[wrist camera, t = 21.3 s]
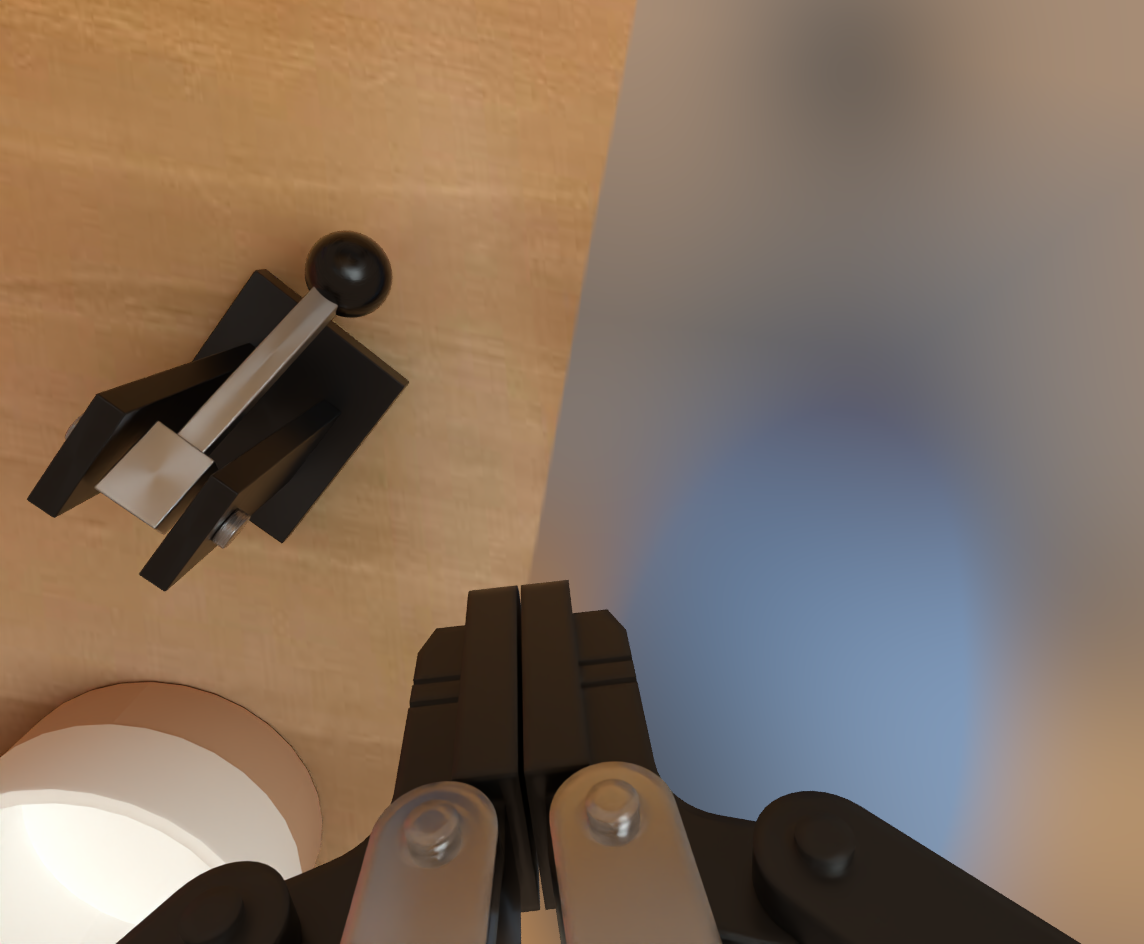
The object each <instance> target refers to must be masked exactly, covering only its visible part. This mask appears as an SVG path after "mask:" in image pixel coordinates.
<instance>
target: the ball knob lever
mask: <svg viewBox="0 0 1144 944" xmlns="http://www.w3.org/2000/svg"><path fill="white" fill-rule="evenodd" d="M302 299H303V298H302V297H301V296H299V295H298V294H297V293H295V292H294V291H293V290H292V289H290V288H289V287H288V286H287V285H285V284H284V283H283V282H281V281H280V280H279V279H278V278H276V277H275V276H274V275H272V274H271V273H270V272H269V271H267V270H266V269H263V270H256V271H255V272H254V273H253V274H252V276H251V277H250V279H249V280H248V282H247V283H246V285H245V286H244V287H243V289H242V290H241V292H240V293H239V295H238V296H237V298H236V299H235V300H234V302H233V303H232V305H231V306H230V308H229V309H228V311H227V312H226V313H225V315H224V316H223V318H222V319H221V321H220V322H219V324H218V325H217V326H216V328H215V329H214V331H213V332H212V334H211V335H210V336H209V338H208V339H207V341H206V342H205V344H204V345H203V347H202V348H201V349H200V351H199V352H198V354H197V355H196V357H195V358H194V360H193V361H192V362H190V363H187V364H184V365H181V366H178V367H175V368H172V369H170V370H167V371H164V372H161V373H158V374H155V375H152V376H149V377H146V378H143V379H140V380H137V381H134V382H131V383H128V384H125V385H122V386H119V387H116V388H113V389H110V390H107V391H104V392H101V393H98V394H96V396H95V397H94V399H93V400H92V402H91V403H90V405H89V406H88V408H87V409H86V411H85V412H84V413H83V414H82V415H81V416H79V417H78V418H77V419H76V420H75V421H74V422H73V424H72V425H71V426H70V428H69V429H68V431H67V433H66V435H65V440H66V441H65V442H64V444H63V445H62V447H61V448H60V450H59V451H58V453H57V454H56V456H55V457H54V459H53V460H52V462H51V463H50V465H49V466H48V468H47V469H46V471H45V472H44V474H43V475H42V477H41V478H40V480H39V481H38V483H37V484H36V486H35V487H34V489H33V490H32V492H31V493H30V495H29V496H28V498H27V500H28V501H29V502H31V503H32V504H34V505H35V506H37V507H38V508H40V509H41V510H43V511H44V512H46V513H47V514H49V515H50V516H52V517H54V518H55V517H57V516H59V515H61V514H63V513H64V512H66V511H68V510H70V509H72V508H73V507H75V506H77V505H79V504H81V503H82V502H84V501H86V500H88V499H90V498H92V497H93V496H95V495H97V494H99V493H101V492H99V491H98V490H96V489H95V488H94V487H95V485H96V484H97V483H98V482H99V481H100V480H101V479H102V478H103V477H104V476H105V475H106V474H107V473H108V472H109V470H110V469H111V468H112V467H113V466H114V465H115V464H116V463H117V462H118V461H119V460H120V459H121V458H122V457H123V456H124V455H125V454H126V453H127V452H128V451H129V449H130V448H131V447H132V446H133V445H134V444H135V443H136V442H137V441H138V440H139V439H140V438H141V437H142V436H143V435H144V434H145V433H146V432H147V431H148V430H149V429H150V427H151V426H152V425H153V424H154V423H155V422H156V421H160V422H161V423H163V424H164V425H165V426H167V427H168V428H170V429H171V430H172V431H174V432H175V433H177V432H178V431H179V430H180V429H181V428H182V427H183V426H184V425H185V424H186V423H187V422H188V421H189V419H190V418H191V417H192V416H193V415H194V414H195V413H196V412H197V411H198V410H199V409H200V408H201V407H202V406H203V404H204V403H205V402H206V401H207V400H208V399H209V398H210V397H211V396H212V395H213V394H214V393H215V392H216V391H217V390H218V388H219V387H220V386H221V385H222V384H223V383H224V382H225V381H226V380H227V379H228V378H229V377H230V376H231V375H232V373H233V372H234V371H235V370H236V369H237V368H238V367H239V366H240V365H241V364H242V363H243V362H244V361H245V360H246V358H247V357H248V356H249V355H250V354H251V353H252V352H253V351H254V350H255V349H256V348H257V347H258V346H259V345H260V343H261V342H262V341H263V340H264V339H265V338H266V337H267V336H268V335H269V334H270V333H271V332H272V331H273V330H274V329H275V327H276V326H277V325H278V324H279V323H280V322H281V321H282V320H283V319H284V318H285V317H286V316H287V315H288V314H289V312H290V311H291V310H292V309H293V308H294V307H295V306H296V305H297V304H298V303H299V302H300V301H301V300H302ZM408 384H409V381H408V380H406V379H405V378H404V377H403V376H401V375H400V374H399V373H398V372H396V371H395V370H394V369H392V368H391V367H390V366H389V365H387V364H386V363H385V362H384V361H382V360H381V359H380V358H378V357H377V356H376V355H375V354H373V353H372V352H371V351H369V350H368V349H367V348H366V347H364V346H363V345H362V344H361V343H359V342H358V341H357V340H355V339H354V338H353V337H352V336H350V335H349V334H348V333H346V332H345V331H344V330H343V329H341V328H340V327H339V326H338V325H336V324H335V323H334V322H332V321H330V322H329V323H328V324H327V325H326V326H325V328H324V329H323V330H322V331H321V332H320V333H319V334H318V335H317V336H316V338H315V339H314V340H313V341H312V342H311V343H310V344H309V345H308V346H307V347H306V349H305V350H304V351H303V352H302V353H301V354H300V355H299V356H298V357H297V359H296V360H295V361H294V362H293V363H292V364H291V365H290V366H289V367H288V369H287V370H286V371H285V372H284V373H283V374H282V375H281V376H280V377H279V378H278V380H277V381H276V382H275V383H274V384H273V385H272V386H271V387H270V388H269V390H268V391H267V392H266V393H265V394H264V395H263V396H262V397H261V398H260V400H259V401H258V402H257V403H256V404H255V405H254V406H253V407H252V408H251V409H250V411H249V412H248V413H247V414H246V415H245V416H244V417H243V418H242V419H241V421H240V422H239V423H238V424H237V425H236V426H235V427H234V428H233V429H232V431H231V432H230V433H229V434H228V435H227V436H226V437H225V438H224V439H223V441H222V442H221V443H220V444H219V445H218V446H217V447H216V448H215V449H214V450H213V452H212V453H211V454H210V455H209V457H210V458H212V459H213V460H214V461H215V463H216V465H217V468H218V471H217V472H215V473H214V474H212V475H211V476H210V477H209V479H208V480H207V481H206V483H205V484H204V485H203V487H202V488H201V490H200V491H199V492H198V494H197V495H196V496H195V498H194V499H193V501H192V502H191V503H190V505H189V506H188V507H187V509H186V510H185V511H184V513H183V514H182V516H181V517H180V518H179V520H178V521H177V522H176V524H175V525H174V526H173V528H172V529H171V531H170V532H169V533H168V535H167V536H166V537H165V539H164V540H163V542H162V543H161V544H160V546H159V547H158V548H157V550H156V551H155V552H154V554H153V555H152V557H151V558H150V559H149V561H148V562H147V563H146V565H145V566H144V568H143V569H142V570H141V572H140V573H139V575H140V576H142V577H143V578H145V579H146V580H148V581H149V582H151V583H152V584H154V585H155V586H157V587H158V588H160V589H161V590H163V591H167V590H168V589H169V588H170V587H171V586H172V585H174V584H175V583H176V582H177V581H178V580H179V579H180V578H181V577H183V576H184V575H185V574H186V573H187V572H188V571H189V570H190V569H192V568H193V567H194V566H195V565H196V564H197V563H198V562H199V561H201V560H202V559H203V558H204V557H205V556H206V555H207V554H208V553H210V552H211V551H212V550H213V549H214V548H215V547H216V546H217V545H218V546H219V547H221V548H222V549H224V548H226V547H227V546H228V545H229V544H230V543H231V542H232V541H233V540H234V539H235V538H236V536H237V535H238V534H239V533H240V532H241V530H242V529H243V528H244V527H245V525H246V524H247V523H248V521H251V522H252V523H254V524H255V525H257V526H258V527H259V528H261V529H262V530H264V531H265V532H266V533H268V534H269V535H271V536H272V537H274V538H275V539H276V540H278V541H279V542H281V543H283V542H284V541H285V540H286V539H287V538H288V537H289V536H290V535H291V534H292V532H293V531H294V530H295V528H296V527H297V526H298V525H299V523H300V522H301V521H302V519H303V518H304V517H305V516H306V514H307V513H308V512H309V510H310V509H311V508H312V507H313V505H314V504H315V503H316V502H317V500H318V499H319V498H320V496H321V495H322V494H323V493H324V491H325V490H326V489H327V487H328V486H329V485H330V484H331V482H332V481H333V480H334V478H335V477H336V476H337V475H338V473H339V472H340V471H341V470H342V468H343V467H344V466H345V464H346V463H347V462H348V461H349V459H350V458H351V457H352V455H353V454H354V453H355V452H356V450H357V449H358V448H359V446H360V445H361V444H362V443H363V441H364V440H365V439H366V438H367V436H368V435H369V434H370V432H371V431H372V430H373V429H374V427H375V426H376V425H377V423H378V422H379V421H380V420H381V418H382V417H383V416H384V414H385V413H386V412H387V411H388V409H389V408H390V407H391V406H392V404H393V403H394V402H395V400H396V399H397V398H398V397H399V395H400V394H401V393H402V391H403V390H404V389H405V388H406V386H407V385H408Z"/></svg>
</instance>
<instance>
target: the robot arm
mask: <svg viewBox="0 0 1144 944" xmlns="http://www.w3.org/2000/svg"><path fill="white" fill-rule="evenodd" d="M413 681H414V685H412V691H411V697H410V708H408V714H407V720H406V726H405V732H404V737H403V743H402V749H401V755H400V761H399V766H398V772H397V778H396V784H395V790H394V795H393V799H392V802H391V805H390V806H389V807H388V808H387V809H386V810H385V811H384V812H383V813H382V815H381V816H380V817H379V819H378V820H377V822H376V824H375V826H374V827H373V830H372V833H371V834H370V835H369V836H368V837H367V838H366V839H365V840H364V841H363V842H362V843H360V844H359V845H358V846H356V847H355V848H354V849H352V850H351V851H349V852H348V853H346V854H344V855H343V856H341V857H339V858H337V859H334V860H332V861H330V862H328V863H326V864H323V865H321V866H318V867H316V868H313V869H311V870H309V871H306V872H304V873H301V874H299V875H296V876H294V877H292V878H289V879H287V880H284V879H283V877H282V876H281V874H280V873H279V872H278V871H276V870H275V869H274V868H272V867H271V866H269V865H267V864H264V863H260V862H255V861H238V862H232V863H228V864H224V865H221V866H218V867H215V868H212V869H210V870H208V871H206V872H204V873H202V874H200V875H198V876H197V877H195V878H194V879H192V880H190V881H189V882H187V883H186V884H185V885H184V886H182V887H181V888H180V889H178V890H177V891H176V892H175V893H174V894H172V895H171V896H170V897H169V898H168V899H167V900H166V901H164V902H163V903H162V904H161V905H160V906H159V907H157V908H156V909H155V910H154V911H153V912H152V913H150V914H149V915H148V916H147V917H146V918H145V919H144V920H142V921H141V922H140V923H139V924H138V925H137V926H135V927H134V928H133V929H132V930H131V931H130V932H128V933H127V934H126V935H125V936H124V937H123V938H122V939H120V940H119V941H118V942H117V943H116V944H521V912H529V911H537V910H540V895H539V894H540V893H539V871H540V877H541V884H542V890H543V896H544V902H545V908H546V910H548V909H556V913H557V919H558V926H559V932H560V940H561V944H1081V943H1079V942H1077V941H1076V940H1074V939H1073V938H1071V937H1069V936H1068V935H1066V934H1065V933H1063V932H1061V931H1060V930H1058V929H1057V928H1055V927H1053V926H1052V925H1050V924H1049V923H1047V922H1045V921H1044V920H1042V919H1040V918H1039V917H1037V916H1036V915H1034V914H1033V913H1031V912H1029V911H1028V910H1026V909H1025V908H1023V907H1021V906H1020V905H1018V904H1016V903H1015V902H1013V901H1012V900H1010V899H1009V898H1007V897H1005V896H1004V895H1002V894H1000V893H999V892H997V891H996V890H994V889H992V888H991V887H989V886H987V885H986V884H984V883H983V882H981V881H980V880H978V879H976V878H975V877H973V876H972V875H970V874H968V873H967V872H965V871H964V870H962V869H960V868H959V867H957V866H955V865H954V864H952V863H951V862H949V861H947V860H946V859H944V858H943V857H941V856H939V855H938V854H936V853H935V852H933V851H931V850H930V849H928V848H927V847H925V846H923V845H922V844H920V843H919V842H917V841H915V840H913V839H912V838H911V837H909V836H907V835H906V834H904V833H903V832H901V831H899V830H898V829H896V828H895V827H893V826H891V825H890V824H888V823H886V822H885V821H883V820H882V819H880V818H878V817H877V816H875V815H874V814H872V813H870V812H869V811H867V810H866V809H864V808H862V807H861V806H859V805H857V804H855V803H853V802H852V801H850V800H848V799H845V798H843V797H840V796H837V795H834V794H829V793H826V792H817V791H801V792H795V793H791V794H788V795H785V796H782V797H780V798H778V799H776V800H774V801H773V802H771V803H770V804H769V805H768V806H767V807H765V809H764V810H763V811H762V812H761V814H760V815H759V817H758V819H757V821H756V822H755V821H749V820H744V819H738V818H733V817H727V816H721V815H716V814H712V813H708V812H705V811H703V810H700V809H697V808H695V807H693V806H691V805H689V804H687V803H686V802H684V801H683V800H681V799H680V798H678V797H677V796H676V795H675V794H674V793H673V792H672V791H671V790H670V789H669V787H668V786H667V784H666V783H665V782H664V781H663V780H662V779H661V777H660V775H659V773H658V772H657V768H656V765H655V762H654V758H653V753H652V748H651V743H650V739H649V734H648V730H647V725H646V720H645V716H644V711H643V706H642V702H641V697H640V692H639V688H638V683H637V681H636V674H635V669H634V665H633V661H632V655H631V651H630V646H629V642H628V637H627V632H626V629H625V628H624V627H623V626H622V625H621V624H620V623H619V622H618V621H617V620H616V618H615V617H614V616H613V615H612V614H611V613H610V612H609V611H608V610H598V611H590V612H581V613H572V606H571V597H570V589H569V581H568V580H563V581H554V582H546V583H537V584H528V585H521V603H520V596H519V590H518V586H508V587H499V588H490V589H481V590H472V591H469V593H468V601H467V612H466V623H465V625H464V626H455V627H446V628H437V629H436V630H435V631H434V632H433V634H432V635H431V636H430V638H429V639H428V640H427V642H426V643H425V644H424V646H423V647H422V649H421V650H420V651H419V653H418V656H417V662H416V668H415V674H414V679H413Z"/></svg>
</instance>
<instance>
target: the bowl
mask: <svg viewBox="0 0 1144 944" xmlns="http://www.w3.org/2000/svg"><path fill="white" fill-rule="evenodd" d="M321 838H322V814H321V809H320V804H319V798H318V794H317V791H316V789H315V787H314V784H313V782H312V780H311V777H310V775H309V772H308V770H307V769H306V767H305V766H304V764H303V763H302V761H301V760H300V759H299V757H298V756H297V754H296V753H295V751H294V750H293V748H292V747H291V746H290V745H289V744H288V743H287V742H286V741H285V740H284V739H283V738H282V737H281V736H280V735H279V734H278V733H277V732H276V731H275V730H274V729H273V728H272V727H271V726H269V725H268V724H267V723H265V722H264V721H262V720H261V719H259V718H258V717H256V716H255V715H253V714H252V713H251V712H249V711H248V710H246V709H245V708H243V707H241V706H239V705H236V704H234V703H232V702H230V701H228V700H226V699H224V698H222V697H219V696H217V695H215V694H212V693H208V692H205V691H201V690H198V689H194V688H191V687H187V686H183V685H174V684H166V683H157V682H141V683H122V684H117V685H113V686H108V687H104V688H100V689H96V690H92V691H89V692H87V693H84V694H82V695H80V696H78V697H76V698H74V699H71V700H69V701H67V702H65V703H63V704H61V705H60V706H59V707H57V708H56V709H55V710H53V711H52V712H51V713H49V714H48V715H47V716H46V717H44V718H43V719H42V720H40V721H39V722H38V723H37V724H36V725H35V726H34V727H33V728H32V729H31V730H29V731H28V732H27V733H26V734H25V735H24V736H23V737H22V738H21V739H20V740H19V741H18V742H16V743H15V744H14V745H13V746H12V747H11V748H10V749H9V750H8V751H7V752H6V753H5V754H3V755H2V756H1V757H0V944H116V943H117V942H118V941H119V940H120V939H122V938H123V937H124V936H125V935H126V934H127V933H128V932H130V931H131V930H132V929H133V928H134V927H135V926H137V925H138V924H139V923H140V922H141V921H142V920H144V919H145V918H146V917H147V916H148V915H149V914H150V913H152V912H153V911H154V910H155V909H156V908H157V907H159V906H160V905H161V904H162V903H163V902H164V901H166V900H167V899H168V898H169V897H170V896H171V895H172V894H174V893H175V892H176V891H177V890H178V889H180V888H181V887H182V886H184V885H185V884H186V883H187V882H189V881H190V880H192V879H194V878H195V877H197V876H198V875H200V874H202V873H204V872H206V871H208V870H210V869H212V868H215V867H218V866H221V865H224V864H228V863H232V862H238V861H255V862H260V863H264V864H267V865H269V866H271V867H272V868H274V869H275V870H276V871H278V872H279V873H280V874H281V876H282V877H283V879H284V880H287V879H289V878H292V877H294V876H296V875H299V874H301V873H304V872H306V871H309V870H311V869H313V868H314V866H315V863H316V860H317V857H318V854H319V850H320V847H321Z"/></svg>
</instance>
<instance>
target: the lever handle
mask: <svg viewBox="0 0 1144 944" xmlns="http://www.w3.org/2000/svg"><path fill="white" fill-rule="evenodd" d="M305 280H306V284H307V287H308V289H309V292H308V293H307V294H306V295H305V296H304V297H303V299H302V300H301V301H300V302H299V303H298V304H297V305H296V306H295V307H294V308H293V309H292V310H291V311H290V312H289V314H288V315H287V316H286V317H285V318H284V319H283V320H282V321H281V322H280V323H279V324H278V325H277V326H276V327H275V329H274V330H273V331H272V332H271V333H270V334H269V335H268V336H267V337H266V338H265V339H264V340H263V341H262V342H261V343H260V345H259V346H258V347H257V348H256V349H255V350H254V351H253V352H252V353H251V354H250V355H249V356H248V357H247V358H246V360H245V361H244V362H243V363H242V364H241V365H240V366H239V367H238V368H237V369H236V370H235V371H234V372H233V373H232V375H231V376H230V377H229V378H228V379H227V380H226V381H225V382H224V383H223V384H222V385H221V386H220V387H219V388H218V390H217V391H216V392H215V393H214V394H213V395H212V396H211V397H210V398H209V399H208V400H207V401H206V402H205V403H204V404H203V406H202V407H201V408H200V409H199V410H198V411H197V412H196V413H195V414H194V415H193V416H192V417H191V418H190V419H189V421H188V422H187V423H186V424H185V425H184V426H183V427H182V428H181V429H180V430H179V431H178V432H177V433H175V432H174V431H172V430H171V429H170V428H168V427H167V426H165V425H164V424H163V423H161V422H160V421H156V422H155V423H154V424H153V425H152V426H151V427H150V429H149V430H148V431H147V432H146V433H145V434H144V435H143V436H142V437H141V438H140V439H139V440H138V441H137V442H136V443H135V444H134V445H133V446H132V447H131V448H130V449H129V451H128V452H127V453H126V454H125V455H124V456H123V457H122V458H121V459H120V460H119V461H118V462H117V463H116V464H115V465H114V466H113V467H112V468H111V469H110V470H109V472H108V473H107V474H106V475H105V476H104V477H103V478H102V479H101V480H100V481H99V482H98V483H97V484H96V485H95V487H94V488H95V489H96V490H98V491H99V492H101V493H102V494H104V495H105V496H107V497H108V498H110V499H111V500H112V501H114V502H115V503H117V504H118V505H120V506H121V507H123V508H124V509H126V510H127V511H129V512H130V513H132V514H133V515H134V516H136V517H137V518H139V519H140V520H142V521H143V522H145V523H146V524H148V525H149V526H151V527H152V528H154V529H155V530H157V531H158V532H160V533H161V534H163V535H165V534H166V533H167V532H168V531H169V530H170V528H171V527H172V526H173V525H174V524H175V523H176V522H177V521H178V519H179V518H180V517H181V516H182V514H183V513H184V511H185V510H186V509H187V507H188V506H189V505H190V503H191V502H192V501H193V499H194V498H195V496H196V495H197V494H198V492H199V491H200V490H201V488H202V487H203V485H204V484H205V483H206V481H207V480H208V479H209V477H210V476H211V475H212V474H214V473H215V472H217V471H218V468H217V465H216V463H215V461H214V460H213V459H212V458H210V457H209V455H210V454H211V453H212V452H213V450H214V449H215V448H216V447H217V446H218V445H219V444H220V443H221V442H222V441H223V439H224V438H225V437H226V436H227V435H228V434H229V433H230V432H231V431H232V429H233V428H234V427H235V426H236V425H237V424H238V423H239V422H240V421H241V419H242V418H243V417H244V416H245V415H246V414H247V413H248V412H249V411H250V409H251V408H252V407H253V406H254V405H255V404H256V403H257V402H258V401H259V400H260V398H261V397H262V396H263V395H264V394H265V393H266V392H267V391H268V390H269V388H270V387H271V386H272V385H273V384H274V383H275V382H276V381H277V380H278V378H279V377H280V376H281V375H282V374H283V373H284V372H285V371H286V370H287V369H288V367H289V366H290V365H291V364H292V363H293V362H294V361H295V360H296V359H297V357H298V356H299V355H300V354H301V353H302V352H303V351H304V350H305V349H306V347H307V346H308V345H309V344H310V343H311V342H312V341H313V340H314V339H315V338H316V336H317V335H318V334H319V333H320V332H321V331H322V330H323V329H324V328H325V326H326V325H327V324H328V323H329V322H330V321H331V320H332V319H333V318H334V316H335V315H338V316H342V317H350V318H353V317H361V316H365V315H367V314H370V313H372V312H373V311H375V310H376V309H378V308H379V307H380V306H381V305H382V304H383V303H384V301H385V300H386V298H387V296H388V295H389V292H390V289H391V285H392V269H391V265H390V262H389V259H388V257H387V255H386V253H385V252H384V251H383V249H382V248H381V247H380V246H379V245H378V244H377V243H376V242H375V241H374V240H372V239H371V238H369V237H368V236H366V235H363V234H361V233H358V232H354V231H337V232H333V233H330V234H328V235H326V236H324V237H322V238H321V239H319V240H318V241H317V242H316V243H315V244H314V246H313V247H312V248H311V250H310V251H309V253H308V256H307V259H306V263H305Z"/></svg>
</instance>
